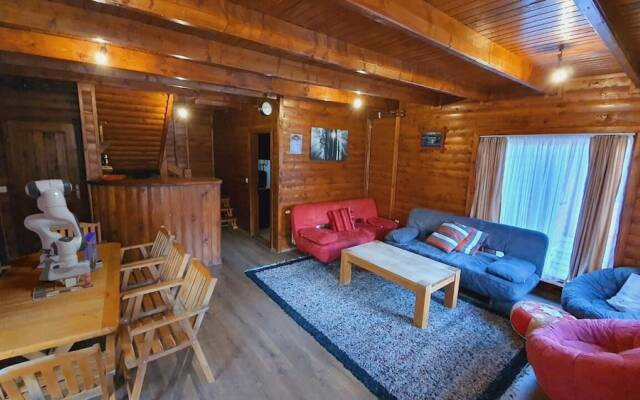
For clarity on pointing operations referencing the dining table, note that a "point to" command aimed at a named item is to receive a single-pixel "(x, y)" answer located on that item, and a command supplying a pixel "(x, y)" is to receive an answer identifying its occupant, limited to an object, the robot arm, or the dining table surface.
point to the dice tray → (42, 290)
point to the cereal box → (91, 250)
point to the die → (70, 281)
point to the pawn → (87, 280)
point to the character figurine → (45, 268)
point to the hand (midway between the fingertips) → (71, 282)
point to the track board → (57, 292)
